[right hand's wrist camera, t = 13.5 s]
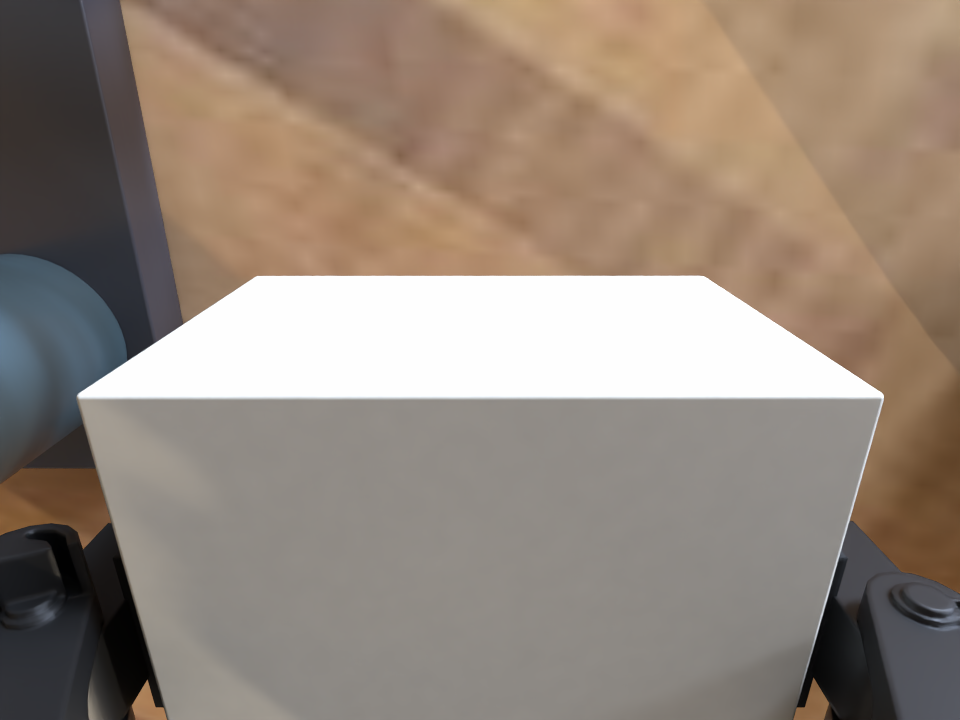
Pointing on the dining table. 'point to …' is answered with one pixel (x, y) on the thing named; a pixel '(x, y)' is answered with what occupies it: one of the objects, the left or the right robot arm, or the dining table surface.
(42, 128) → the stand
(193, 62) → the dining table surface
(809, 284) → the dining table surface
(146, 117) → the dining table surface
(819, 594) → the white square block
